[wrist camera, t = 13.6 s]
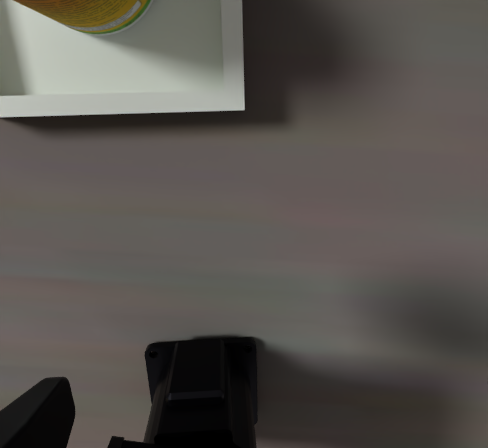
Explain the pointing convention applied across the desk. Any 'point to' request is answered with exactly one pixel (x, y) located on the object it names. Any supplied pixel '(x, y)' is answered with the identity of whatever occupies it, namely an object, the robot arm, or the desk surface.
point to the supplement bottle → (92, 13)
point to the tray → (124, 62)
